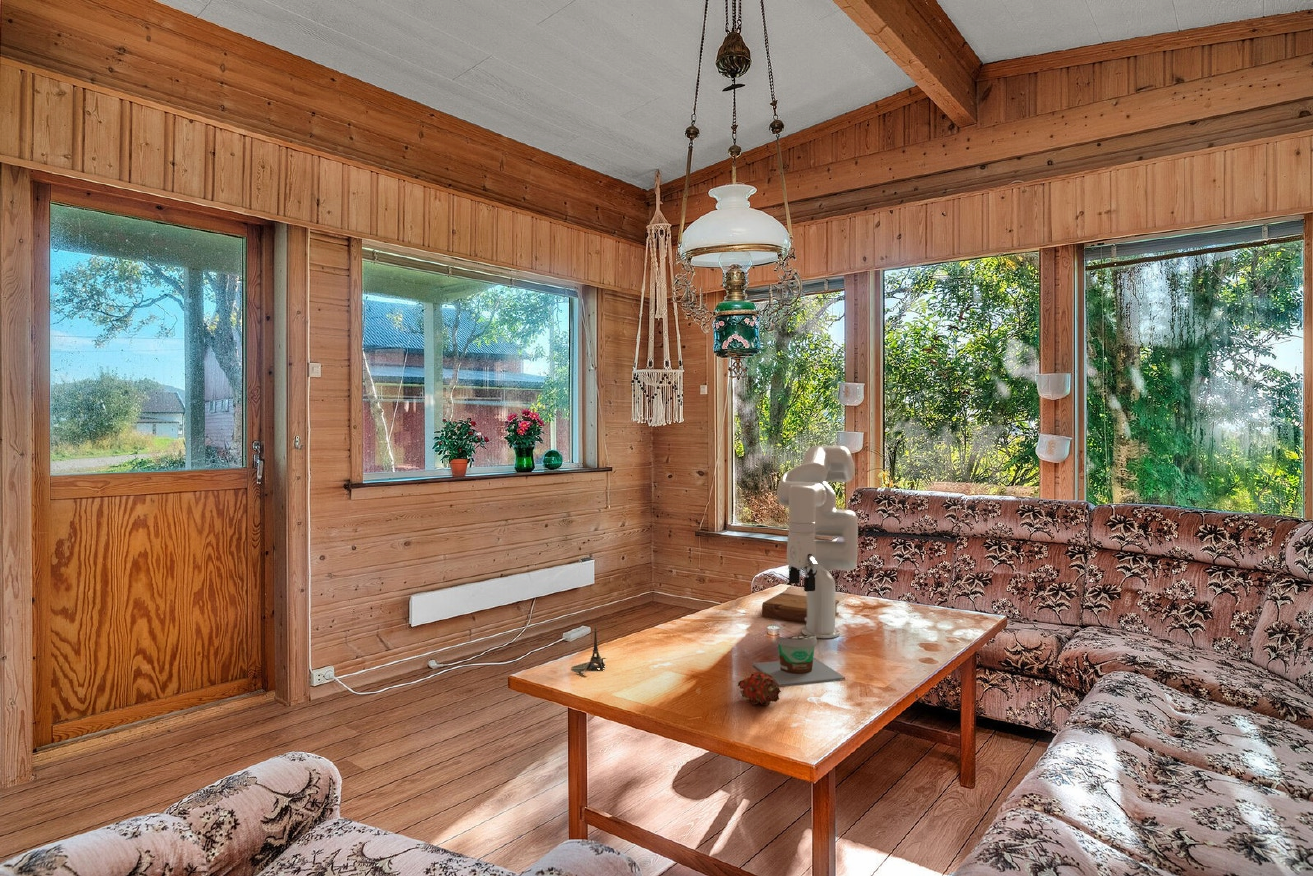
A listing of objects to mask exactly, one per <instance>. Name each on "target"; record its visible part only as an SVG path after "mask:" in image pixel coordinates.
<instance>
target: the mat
mask: <svg viewBox="0 0 1313 876" xmlns="http://www.w3.org/2000/svg"><path fill="white" fill-rule="evenodd" d="M752 666H753V667H754V668H756V669H757V671H758V672H762V673H763V674H764V672H765V673H768V674H769V675H771V676H772V677H773V679H775V680H776V681H777V683H778V684H779V688H780V687H788V686H796V685H806V684H807V685H809V684H815V683H814V682H818V683H825V682H826V683H827V682H834V681H833V680H836V681H841V680H840V679H845V680H846V677H845V676H843V675H842V674H841V673H839V672H838V671H836V670H835V669H833V668H832V667H830V666H829V665H827V664H825V663H824V662H822V661H820V660H819V659H818V658H816V657H813V666H812V671H811V672H809V673H806V674H791V673H787V672H784V671H782V670H781V668H780V660H775V661H773V660H771V661H765V662H753V664H752Z"/></svg>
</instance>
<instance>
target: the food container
mask: <svg viewBox="0 0 1313 876" xmlns="http://www.w3.org/2000/svg"><path fill="white" fill-rule="evenodd" d="M775 643H776V644H777V645H778V654H779V655H778V656H779V661H780V668H781V670H782V671H784V672H787V673H791V674H806V673H809V672H811V671H812V666H813V658H814V654H815V645H817V644H818V638H816V636H815V634H814V633H813V635H811V636H807V635H793V636H790V637H782V636H780V635H777V637H776V641H775Z"/></svg>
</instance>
